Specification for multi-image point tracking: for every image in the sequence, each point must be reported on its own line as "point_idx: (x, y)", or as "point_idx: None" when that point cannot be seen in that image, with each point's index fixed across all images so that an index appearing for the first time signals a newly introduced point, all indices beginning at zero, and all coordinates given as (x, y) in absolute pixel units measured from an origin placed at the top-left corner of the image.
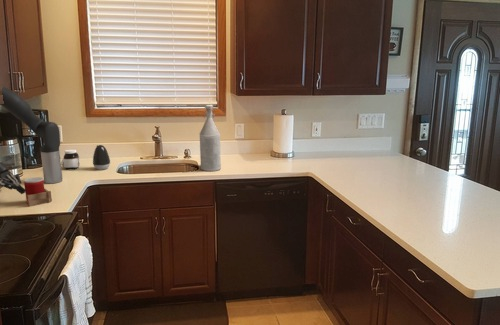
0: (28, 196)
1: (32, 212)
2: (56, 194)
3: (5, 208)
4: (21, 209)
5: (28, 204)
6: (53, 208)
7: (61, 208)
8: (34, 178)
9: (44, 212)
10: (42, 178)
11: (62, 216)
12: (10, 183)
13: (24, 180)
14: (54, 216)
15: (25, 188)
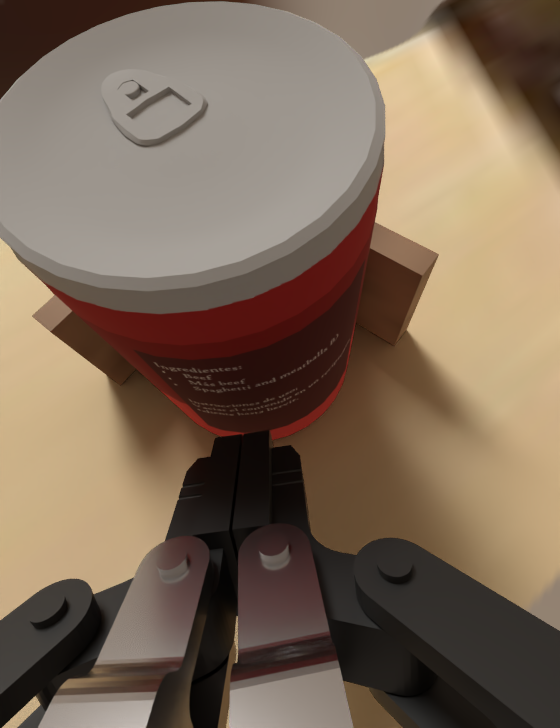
0: (431, 258)
1: (538, 204)
2: (5, 323)
3: (554, 558)
4: (509, 343)
5: (398, 337)
6: (396, 131)
7: (381, 91)
8: (38, 186)
9: (500, 132)
10: (98, 26)
11: (522, 13)
12: (507, 659)
13: (304, 228)
14: (543, 44)
15: (350, 305)
